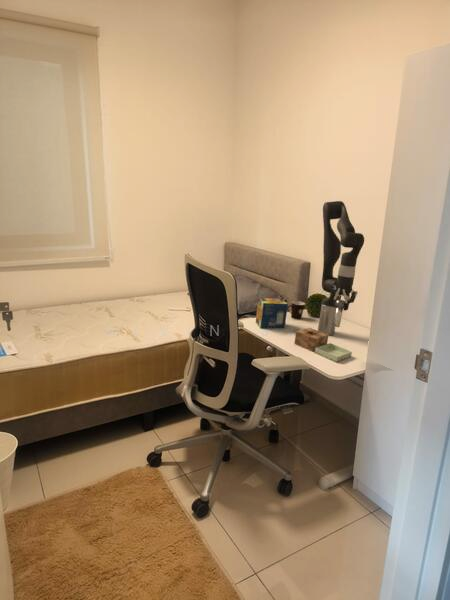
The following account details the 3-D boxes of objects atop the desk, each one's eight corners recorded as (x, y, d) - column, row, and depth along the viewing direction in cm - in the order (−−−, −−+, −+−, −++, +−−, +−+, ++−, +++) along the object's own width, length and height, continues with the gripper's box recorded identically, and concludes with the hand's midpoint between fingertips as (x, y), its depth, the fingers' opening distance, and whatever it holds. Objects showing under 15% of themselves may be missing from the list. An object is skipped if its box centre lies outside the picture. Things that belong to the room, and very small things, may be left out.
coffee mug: (301, 316, 256) (303, 301, 253) (304, 320, 247) (306, 305, 245) (283, 314, 255) (285, 300, 252) (286, 319, 247) (288, 304, 244)
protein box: (255, 322, 236) (257, 297, 231) (279, 322, 239) (282, 298, 235) (260, 328, 226) (262, 302, 222) (285, 328, 229) (288, 303, 225)
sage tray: (329, 347, 205) (330, 343, 204) (351, 356, 196) (352, 351, 195) (314, 353, 197) (315, 347, 196) (336, 362, 187) (337, 357, 186)
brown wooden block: (308, 339, 214) (310, 327, 212) (326, 347, 206) (328, 334, 204) (294, 343, 206) (296, 331, 205) (312, 351, 198) (314, 339, 196)
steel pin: (328, 325, 192) (334, 299, 189) (335, 324, 195) (340, 299, 192) (337, 328, 188) (342, 302, 185) (343, 327, 191) (348, 302, 188)
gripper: (329, 272, 188) (323, 305, 192) (355, 278, 177) (348, 314, 182) (337, 271, 192) (332, 303, 197) (363, 277, 182) (357, 311, 187)
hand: (340, 308), depth 190 cm, fingers closed on steel pin, 5 cm apart
